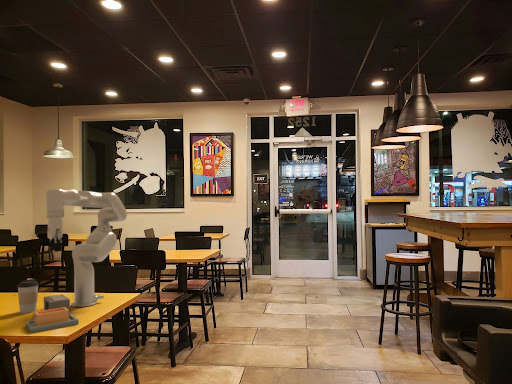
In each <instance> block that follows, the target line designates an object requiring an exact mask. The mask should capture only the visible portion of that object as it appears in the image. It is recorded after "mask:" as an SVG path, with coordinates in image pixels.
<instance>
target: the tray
mask: <svg viewBox="0 0 512 384" xmlns="http://www.w3.org/2000/svg"><path fill="white" fill-rule="evenodd" d="M79 320H80V319H79V318H77V317H76V316H75V315H74V314H72V313H70V314H69V321H64V322H59V323H53V324H48V325H42V326H36V325H35V324H34V319H33V320H27V321H25V328H26V329H27V330H28V332H29V333H30V334H33V333H35V334H36V333H38V332H43V331H44V332H45V331H50V330H54V329H55V330H56V329H60V328H66V327H71V326H72V327H73V326H76V325H79Z"/></svg>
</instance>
